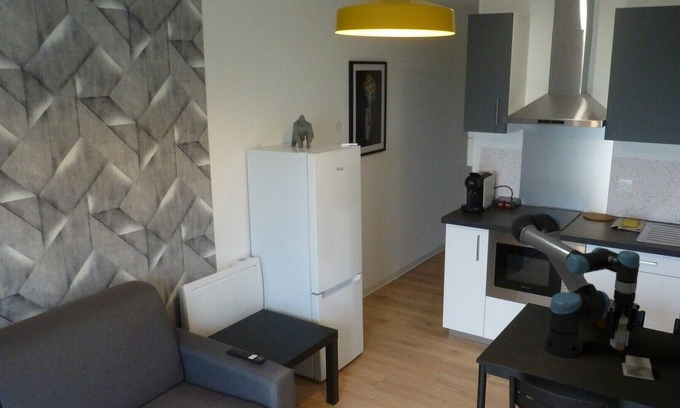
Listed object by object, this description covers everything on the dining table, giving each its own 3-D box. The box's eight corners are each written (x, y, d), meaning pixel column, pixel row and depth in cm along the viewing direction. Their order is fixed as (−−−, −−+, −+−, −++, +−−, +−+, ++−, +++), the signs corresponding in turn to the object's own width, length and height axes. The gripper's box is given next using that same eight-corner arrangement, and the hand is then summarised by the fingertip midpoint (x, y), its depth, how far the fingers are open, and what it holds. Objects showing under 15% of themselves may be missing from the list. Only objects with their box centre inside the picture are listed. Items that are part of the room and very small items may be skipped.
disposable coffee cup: (620, 330, 254) (622, 305, 251) (598, 330, 254) (600, 305, 251) (610, 321, 263) (612, 297, 260) (589, 322, 263) (591, 297, 260)
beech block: (626, 374, 215) (627, 364, 214) (625, 364, 223) (626, 355, 222) (650, 378, 212) (651, 368, 211) (648, 368, 220) (649, 358, 219)
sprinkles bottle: (612, 344, 230) (615, 313, 227) (624, 346, 228) (628, 315, 225) (611, 349, 226) (615, 318, 223) (624, 351, 224) (628, 320, 221)
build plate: (623, 376, 215) (623, 375, 215) (621, 364, 224) (622, 362, 224) (653, 381, 211) (653, 379, 211) (650, 369, 220) (650, 367, 220)
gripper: (611, 296, 216) (605, 352, 222) (651, 292, 220) (644, 347, 225) (599, 288, 224) (593, 343, 229) (638, 285, 227) (631, 338, 232)
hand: (618, 345), depth 227 cm, fingers closed on sprinkles bottle, 4 cm apart
